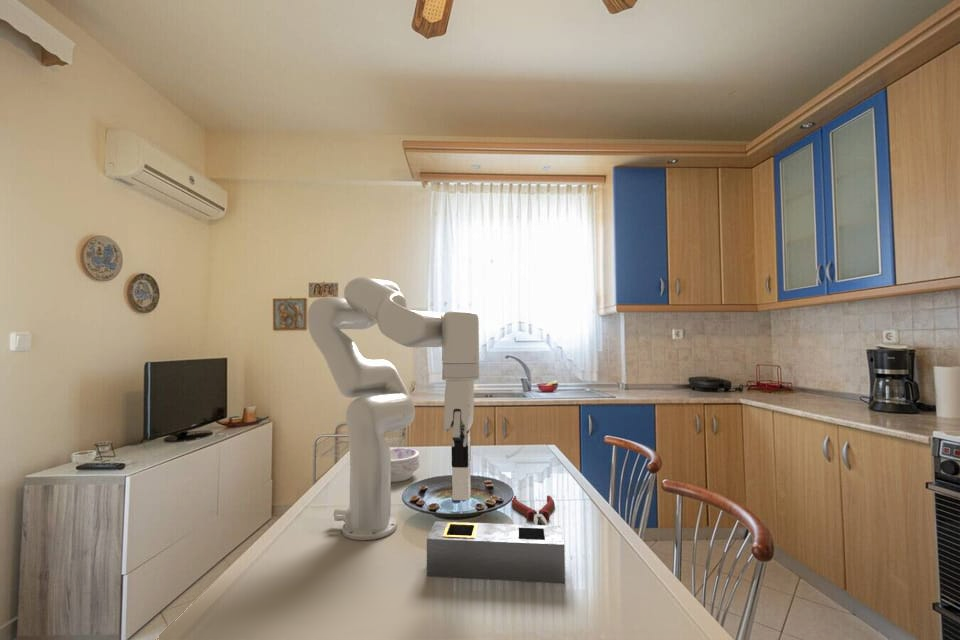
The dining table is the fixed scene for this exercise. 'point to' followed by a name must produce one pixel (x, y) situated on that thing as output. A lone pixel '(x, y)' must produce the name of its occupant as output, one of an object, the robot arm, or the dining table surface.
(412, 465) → the white textured bowl
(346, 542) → the dining table surface
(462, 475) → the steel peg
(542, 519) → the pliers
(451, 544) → the grey peg board
